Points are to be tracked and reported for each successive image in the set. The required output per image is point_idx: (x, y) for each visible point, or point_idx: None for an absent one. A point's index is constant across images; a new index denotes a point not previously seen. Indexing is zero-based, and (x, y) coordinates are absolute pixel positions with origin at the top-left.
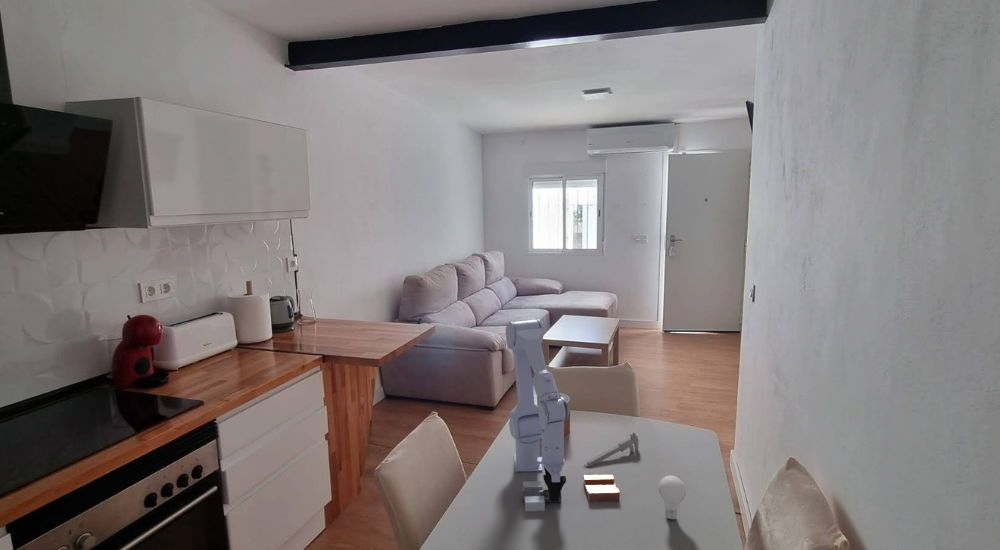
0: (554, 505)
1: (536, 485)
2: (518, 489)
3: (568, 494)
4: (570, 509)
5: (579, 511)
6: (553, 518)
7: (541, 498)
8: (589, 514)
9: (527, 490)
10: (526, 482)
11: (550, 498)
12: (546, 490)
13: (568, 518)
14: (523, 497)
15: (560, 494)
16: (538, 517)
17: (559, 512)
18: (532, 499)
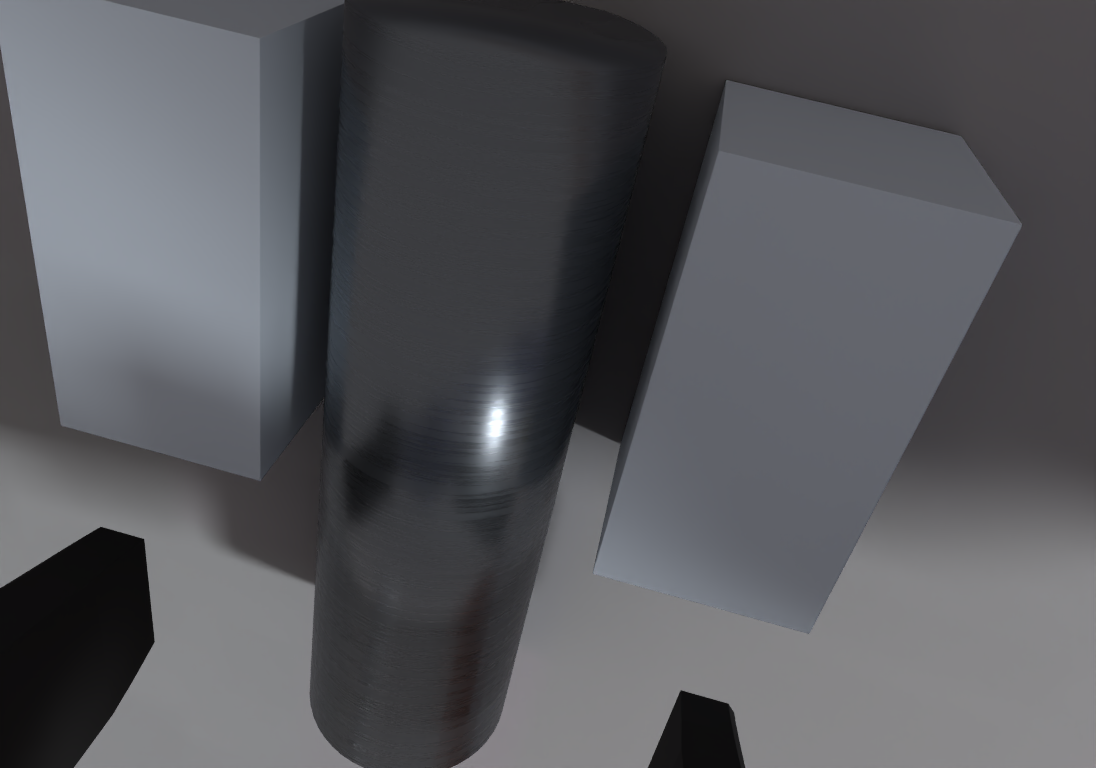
0: (318, 508)
1: (684, 486)
2: (1053, 8)
3: (545, 748)
4: (222, 640)
5: (185, 700)
6: (14, 383)
7: (173, 411)
8: (136, 751)
9: (482, 205)
10: (926, 303)
11: (44, 568)
12: (406, 595)
13: (41, 551)
14: (346, 6)
15: (315, 718)
16: (3, 165)
17: (156, 505)
18: (133, 212)
